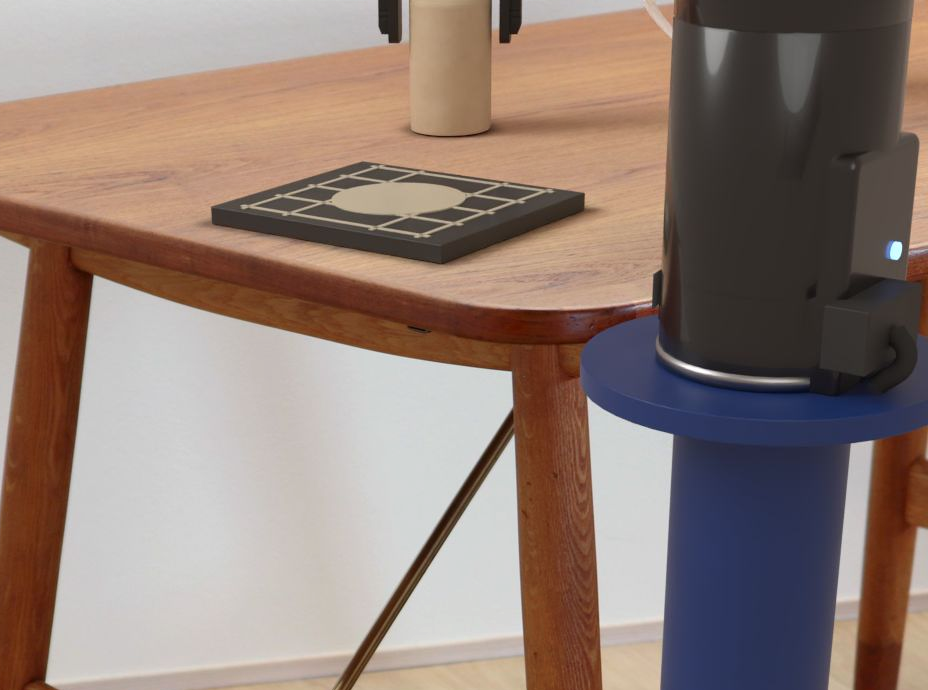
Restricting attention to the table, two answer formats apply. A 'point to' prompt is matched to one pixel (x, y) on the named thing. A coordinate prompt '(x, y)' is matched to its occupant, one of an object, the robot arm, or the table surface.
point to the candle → (450, 66)
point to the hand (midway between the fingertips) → (450, 41)
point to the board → (399, 210)
